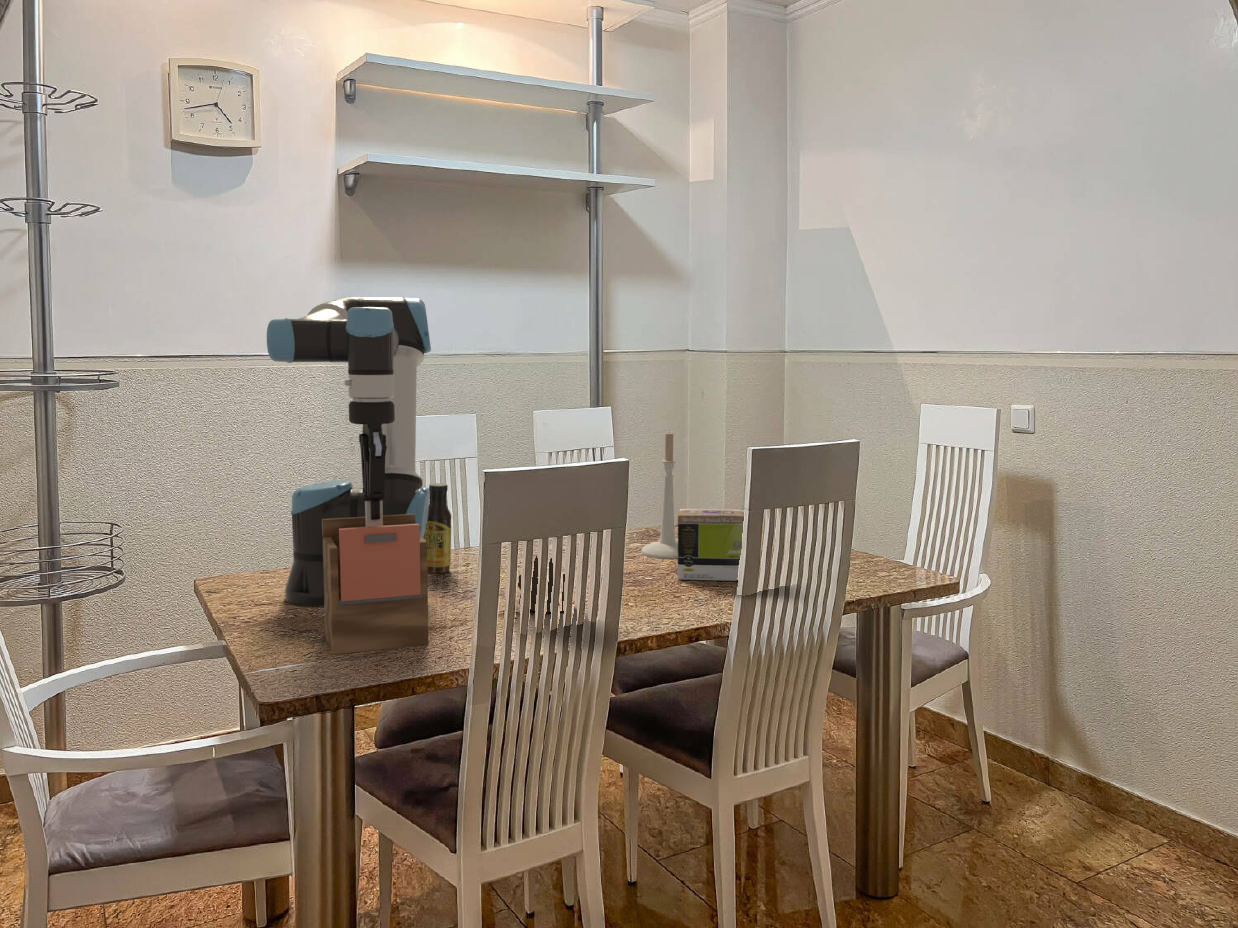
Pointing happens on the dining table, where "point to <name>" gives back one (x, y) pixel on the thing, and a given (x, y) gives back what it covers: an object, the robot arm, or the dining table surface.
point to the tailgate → (379, 563)
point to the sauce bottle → (438, 530)
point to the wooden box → (370, 620)
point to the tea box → (709, 543)
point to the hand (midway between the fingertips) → (374, 537)
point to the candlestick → (666, 512)
